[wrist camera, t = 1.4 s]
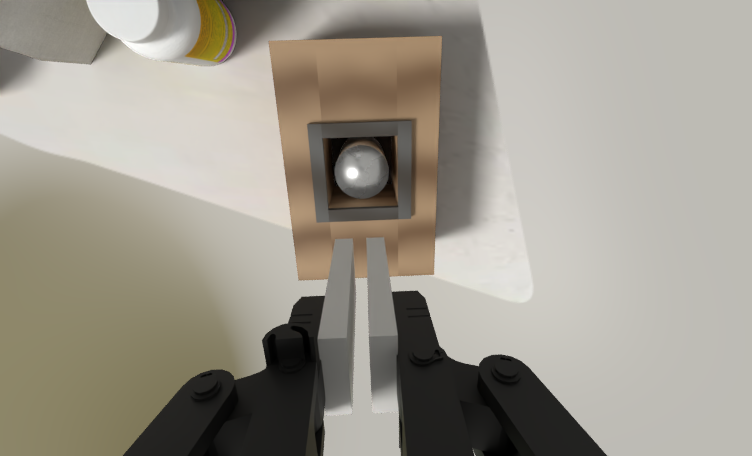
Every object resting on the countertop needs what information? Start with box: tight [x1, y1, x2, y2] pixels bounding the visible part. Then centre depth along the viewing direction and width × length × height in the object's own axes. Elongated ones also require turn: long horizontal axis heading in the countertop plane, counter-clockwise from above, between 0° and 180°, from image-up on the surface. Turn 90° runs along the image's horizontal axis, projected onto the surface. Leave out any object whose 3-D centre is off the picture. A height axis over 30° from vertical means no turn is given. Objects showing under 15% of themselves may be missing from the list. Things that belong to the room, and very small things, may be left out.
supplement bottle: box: [86, 0, 237, 66], centre depth 29 cm, size 7×7×13 cm
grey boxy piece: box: [0, 0, 107, 64], centre depth 30 cm, size 4×7×10 cm, turn 139°
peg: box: [335, 137, 389, 199], centre depth 37 cm, size 5×5×8 cm
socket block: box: [269, 36, 442, 280], centre depth 36 cm, size 22×14×9 cm, turn 2°
